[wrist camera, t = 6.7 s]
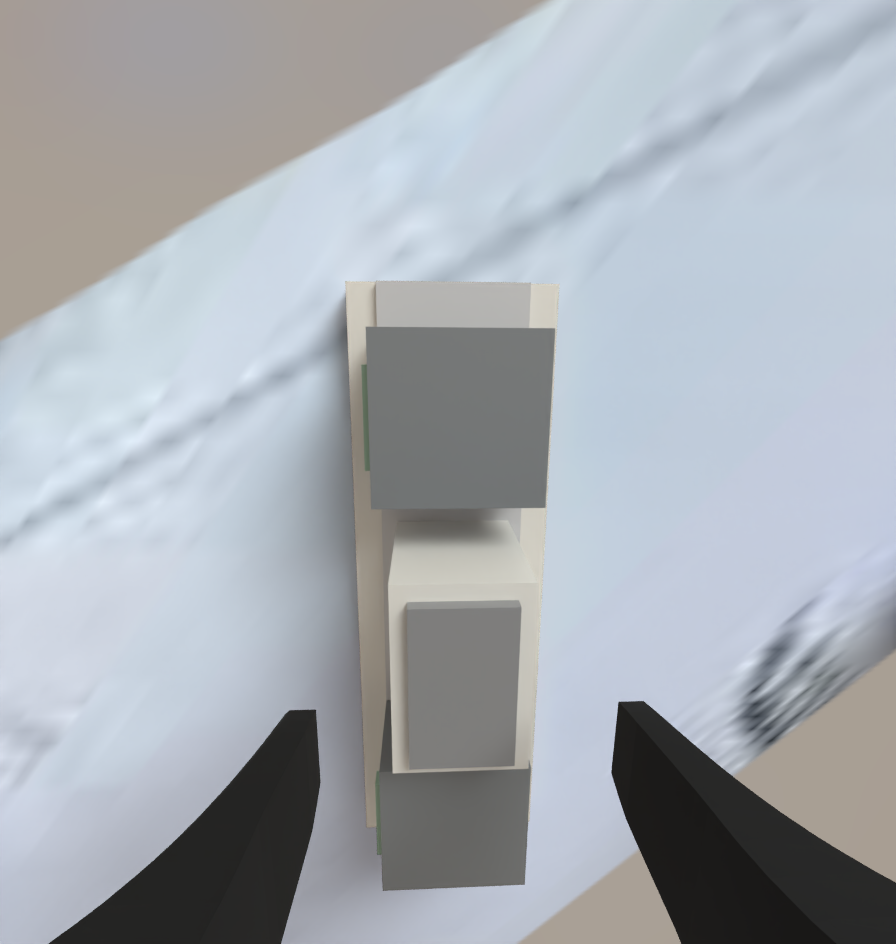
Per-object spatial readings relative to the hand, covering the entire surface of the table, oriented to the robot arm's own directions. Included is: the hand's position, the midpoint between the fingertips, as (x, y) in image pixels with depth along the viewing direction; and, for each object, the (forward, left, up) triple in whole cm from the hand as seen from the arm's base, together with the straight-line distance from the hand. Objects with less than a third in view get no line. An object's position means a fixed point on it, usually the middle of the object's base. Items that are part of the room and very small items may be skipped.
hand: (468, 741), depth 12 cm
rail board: (0, 0, -9) cm, 9 cm away
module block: (0, 0, -7) cm, 7 cm away
